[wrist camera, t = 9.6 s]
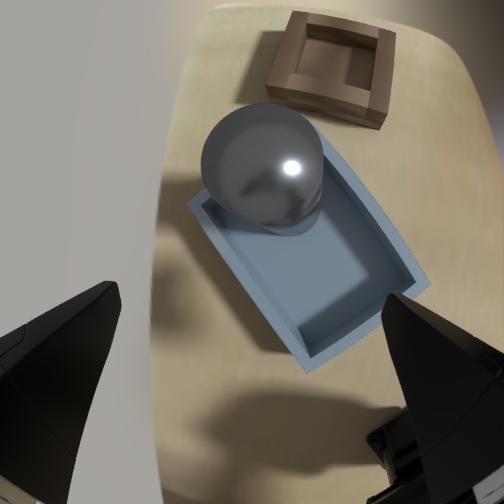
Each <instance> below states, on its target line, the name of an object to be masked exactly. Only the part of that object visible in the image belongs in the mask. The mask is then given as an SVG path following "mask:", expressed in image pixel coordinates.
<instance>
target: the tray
mask: <svg viewBox="0 0 504 504" xmlns="http://www.w3.org/2000/svg"><path fill="white" fill-rule="evenodd" d="M301 115H303V114H301ZM303 116H304V115H303ZM304 117H305V116H304ZM305 118H306V117H305ZM306 119H307V118H306ZM307 120H308V119H307ZM308 121H309V120H308ZM309 122H310V121H309ZM310 123H311V122H310ZM311 124H312V123H311ZM312 125H313V124H312ZM313 127H314V128H315V130H316V131H317V133H318V135H319V138H320V140H321V143H322V147H323V154H324V161H323V182H322V199H321V211H320V215H319V218H318V220H317V222H316V223H315V225H314V226H313V227H312V228H311V229H310V230H309V231H307V232H306V233H304V234H302V235H299V236H293V237H288V236H282V235H279V234H277V233H274V232H272V231H270V230H268V229H266V228H263V227H261V226H259V225H257V224H255V223H252V222H250V221H248V220H246V219H243V218H241V217H239V216H237V215H234V214H232V213H230V212H228V211H227V210H225V209H224V208H222V207H221V206H220V205H219V204H218V203H217V202H216V201H215V200H214V199H213V198H212V197H211V195H210V194H209V192H208V191H207V189H206V187H205V188H203V189H202V190H201V191H200V192H199V193H197V194H196V195H195V196H194V197H193V198H191V199H190V200H189V201H188V202H187V203H186V205H187V206H188V208H189V209H190V211H191V212H192V214H193V215H194V217H195V218H196V219H197V221H198V222H199V224H200V225H201V227H202V228H203V230H204V231H205V233H206V234H207V236H208V237H209V238H210V240H211V241H212V243H213V244H214V246H215V247H216V249H217V250H218V251H219V253H220V254H221V256H222V257H223V259H224V260H225V262H226V263H227V264H228V266H229V267H230V269H231V270H232V272H233V273H234V274H235V276H236V277H237V279H238V280H239V281H240V283H241V284H242V286H243V287H244V289H245V290H246V291H247V293H248V294H249V296H250V297H251V298H252V300H253V301H254V303H255V304H256V305H257V307H258V308H259V310H260V311H261V312H262V314H263V315H264V316H265V318H266V319H267V321H268V322H269V323H270V325H271V326H272V327H273V329H274V330H275V332H276V333H277V334H278V336H279V337H280V338H281V340H282V341H283V343H284V344H285V345H286V347H287V348H288V349H289V351H290V352H291V353H292V355H293V356H294V357H295V359H296V360H297V361H298V363H299V364H300V365H301V367H302V368H303V369H304V371H305V372H306V373H307V374H308V373H309V372H311V371H313V370H314V369H316V368H318V367H319V366H321V365H322V364H324V363H326V362H327V361H329V360H330V359H332V358H333V357H335V356H337V355H338V354H340V353H341V352H343V351H344V350H346V349H347V348H349V347H350V346H352V345H353V344H355V343H356V342H357V341H359V340H360V339H362V338H363V337H365V336H366V335H367V334H369V333H370V332H372V331H373V330H374V329H376V328H377V327H378V326H380V325H381V324H382V321H381V312H382V309H383V306H384V303H385V301H386V298H387V296H388V294H390V293H401V294H403V295H404V296H406V297H408V298H410V299H411V300H413V299H414V298H416V297H417V296H418V295H419V294H420V293H422V292H423V291H424V290H425V289H426V288H428V287H429V286H430V285H431V284H430V282H429V280H428V278H427V277H426V275H425V273H424V272H423V270H422V268H421V267H420V265H419V263H418V262H417V260H416V259H415V257H414V255H413V254H412V252H411V251H410V249H409V247H408V246H407V244H406V243H405V241H404V240H403V238H402V237H401V235H400V234H399V232H398V231H397V229H396V228H395V226H394V225H393V224H392V222H391V221H390V219H389V218H388V216H387V215H386V214H385V212H384V211H383V209H382V208H381V207H380V205H379V204H378V203H377V201H376V200H375V199H374V197H373V196H372V195H371V193H370V192H369V191H368V189H367V188H366V187H365V185H364V184H363V183H362V182H361V180H360V179H359V178H358V176H357V175H356V174H355V173H354V171H353V170H352V169H351V168H350V167H349V165H348V164H347V163H346V162H345V160H344V159H343V158H342V157H341V156H340V155H339V153H338V152H337V151H336V150H335V149H334V148H333V146H332V145H331V144H330V143H329V142H328V141H327V140H326V138H325V137H324V136H323V135H322V134H321V133H320V132H319V131H318V130H317V128H316V127H315V126H314V125H313Z"/></svg>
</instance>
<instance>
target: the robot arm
mask: <svg viewBox="0 0 504 504" xmlns="http://www.w3.org/2000/svg"><path fill="white" fill-rule="evenodd" d="M120 312H121V298H120V294H119V289H118V285H117V283H116V282H114V281H103V282H101V283H99V284H97V285H96V286H94V287H92V288H90V289H88V290H86V291H84V292H82V293H80V294H78V295H77V296H75V297H73V298H71V299H69V300H67V301H65V302H64V303H62V304H60V305H58V306H56V307H55V308H53V309H51V310H49V311H47V312H45V313H44V314H42V315H40V316H38V317H37V318H35V319H33V320H31V321H29V322H28V323H27V324H24V325H22V326H21V327H19V328H17V329H15V330H13V331H12V332H10V333H8V334H6V335H4V336H2V337H1V338H0V504H36V501H38V502H40V503H42V504H67V499H68V494H69V489H70V484H71V479H72V475H73V470H74V465H75V462H76V458H75V457H77V453H78V449H79V445H80V441H81V437H82V434H83V430H84V427H85V423H86V420H87V416H88V413H89V410H90V407H91V403H92V400H93V397H94V394H95V391H96V388H97V385H98V382H99V379H100V376H101V373H102V370H103V367H104V365H105V362H106V359H107V357H108V354H109V351H110V348H111V345H112V342H113V338H114V334H115V330H116V326H117V322H118V319H119V315H120ZM381 321H382V325H383V328H384V332H385V336H386V340H387V344H388V348H389V352H390V355H391V358H392V361H393V364H394V367H395V370H396V373H397V376H398V379H399V382H400V385H401V388H402V391H403V394H404V398H405V401H406V404H407V407H408V411H406V412H405V413H403V414H402V415H400V416H398V417H397V418H395V419H394V420H392V421H391V422H389V423H387V424H386V425H384V426H383V427H381V428H379V429H378V430H376V431H374V432H372V433H371V434H369V435H368V436H367V438H366V439H367V443H368V444H369V445H370V446H371V448H372V449H373V450H374V452H375V453H376V454H377V455H378V457H379V458H380V459H381V460H382V462H383V463H384V464H385V467H386V471H387V475H388V479H389V483H390V487H388V488H387V489H385V490H384V491H382V492H380V493H379V494H377V495H375V496H372V497H370V498H368V499H367V503H366V504H504V353H502V352H500V351H499V350H497V349H495V348H493V347H492V346H490V345H488V344H486V343H485V342H483V341H481V340H480V339H478V338H476V337H474V336H473V335H471V334H470V333H468V332H466V331H465V330H463V329H461V328H460V327H458V326H456V325H455V324H453V323H451V322H450V321H448V320H446V319H444V318H443V317H441V316H439V315H438V314H436V313H434V312H432V311H431V310H429V309H427V308H425V307H424V306H422V305H420V304H419V303H417V302H415V301H413V300H411V299H410V298H408V297H406V296H404V295H403V294H401V293H390V294H388V296H387V298H386V301H385V303H384V306H383V309H382V312H381ZM371 438H374V439H371Z"/></svg>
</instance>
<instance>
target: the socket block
mask: <svg viewBox="0 0 504 504" xmlns="http://www.w3.org/2000/svg"><path fill="white" fill-rule="evenodd" d="M395 41H396V33H395V32H392V31H389V30H385V29H382V28H378V27H375V26H371V25H368V24H364V23H360V22H355V21H351V20H347V19H342V18H337V17H332V16H326V15H321V14H314V13H307V12H300V11H293V12H292V14H291V17H290V19H289V22H288V25H287V27H286V30H285V33H284V35H283V38H282V41H281V43H280V46H279V49H278V51H277V54H276V57H275V60H274V62H273V65H272V68H271V71H270V74H269V77H268V79H267V82H266V88H267V91H268V94H269V97H270V100H271V103H273V104H279V105H284V106H289V107H294V108H299V109H304V110H308V111H313V112H317V113H321V114H325V115H329V116H333V117H337V118H341V119H344V120H348V121H352V122H355V123H358V124H362V125H365V126H368V127H372V128H375V129H378V130H380V128H381V126H382V124H383V122H384V121H385V119H386V116H387V114H388V109H389V101H390V94H391V86H392V77H393V67H394V55H395Z"/></svg>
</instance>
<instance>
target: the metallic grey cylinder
mask: <svg viewBox="0 0 504 504" xmlns="http://www.w3.org/2000/svg"><path fill="white" fill-rule="evenodd" d="M323 161H324V154H323V147H322V143H321V140H320V138H319V135H318V133H317V131H316V130H315V128H314V127H313V125H312V124H311V123H310V122H309V121H308V120H307V119H306V118H305V117H304V116H303V115H301V114H300V113H298V112H297V111H295V110H293V109H291V108H289V107H286V106H283V105H279V104H272V103H258V104H252V105H248V106H245V107H242V108H239V109H237V110H235V111H233V112H232V113H230V114H229V115H227V116H226V117H224V118H223V119H222V120H221V121H220V122H219V123H218V124H217V125H216V126H215V127H214V128H213V130H212V131H211V133H210V134H209V136H208V138H207V140H206V142H205V145H204V147H203V151H202V156H201V173H202V178H203V181H204V184H205V186H206V189H207V191H208V192H209V194H210V195H211V197H212V198H213V199H214V200H215V201H216V202H217V203H218V204H219V205H220V206H221V207H222V208H224V209H225V210H227V211H228V212H230V213H232V214H234V215H237V216H239V217H241V218H243V219H246V220H248V221H250V222H252V223H255V224H257V225H259V226H261V227H263V228H266V229H268V230H270V231H272V232H274V233H277V234H279V235H282V236H288V237H293V236H299V235H302V234H304V233H306V232H307V231H309V230H310V229H311V228H312V227H313V226H314V225H315V223H316V222H317V220H318V218H319V215H320V211H321V199H322V182H323Z"/></svg>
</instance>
